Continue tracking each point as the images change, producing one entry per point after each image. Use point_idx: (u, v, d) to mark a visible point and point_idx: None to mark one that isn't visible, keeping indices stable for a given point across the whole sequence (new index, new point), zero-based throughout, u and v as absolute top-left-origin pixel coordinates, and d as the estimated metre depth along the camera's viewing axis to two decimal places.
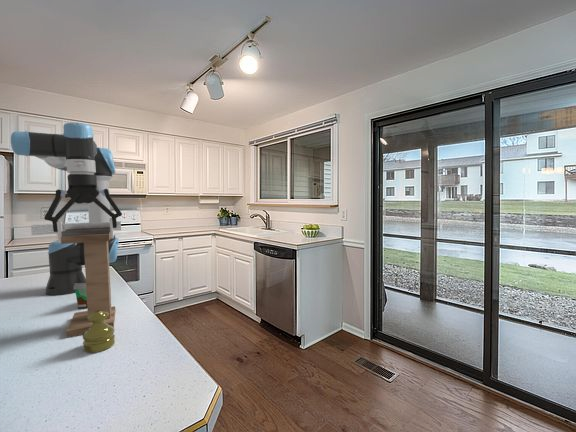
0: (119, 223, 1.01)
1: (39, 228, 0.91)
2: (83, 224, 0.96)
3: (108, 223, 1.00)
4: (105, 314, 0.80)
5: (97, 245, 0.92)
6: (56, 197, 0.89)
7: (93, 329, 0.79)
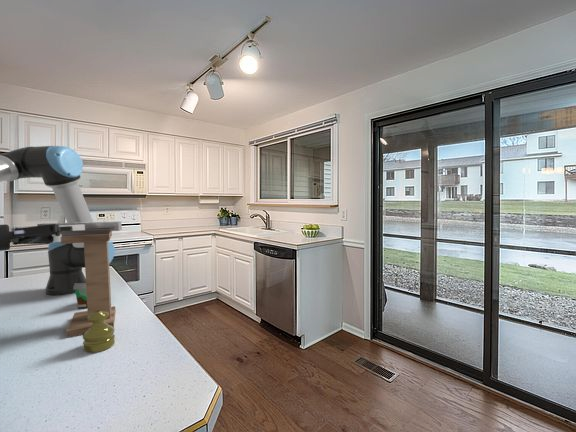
0: (117, 223, 1.00)
1: None
2: None
3: (106, 223, 0.99)
4: (105, 314, 0.80)
5: (97, 245, 0.92)
6: (23, 243, 0.92)
7: (93, 329, 0.79)
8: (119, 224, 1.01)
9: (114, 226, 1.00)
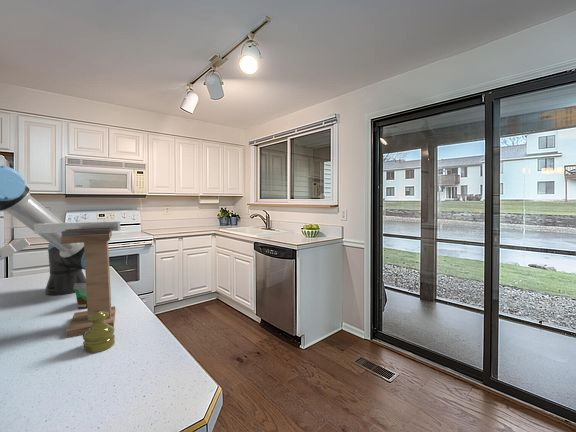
0: (116, 223, 1.00)
1: (41, 227, 0.94)
2: (81, 224, 0.97)
3: (105, 223, 0.99)
4: (105, 314, 0.80)
5: (97, 245, 0.92)
6: None
7: (93, 329, 0.79)
8: (118, 224, 1.01)
9: (113, 226, 1.00)
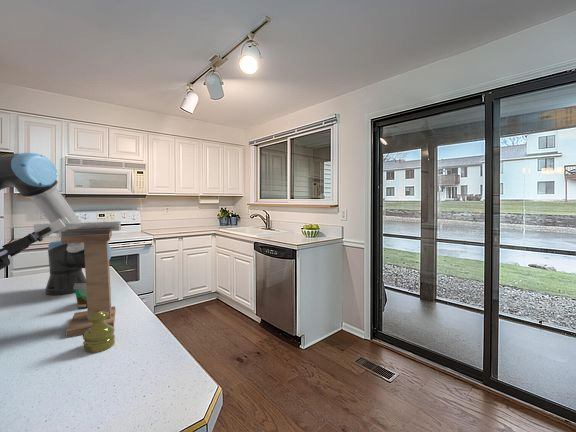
0: (117, 223, 1.00)
1: (41, 227, 0.94)
2: (82, 224, 0.97)
3: (106, 223, 0.99)
4: (105, 314, 0.80)
5: (97, 245, 0.92)
6: None
7: (93, 329, 0.79)
8: (119, 224, 1.02)
9: (114, 226, 1.00)
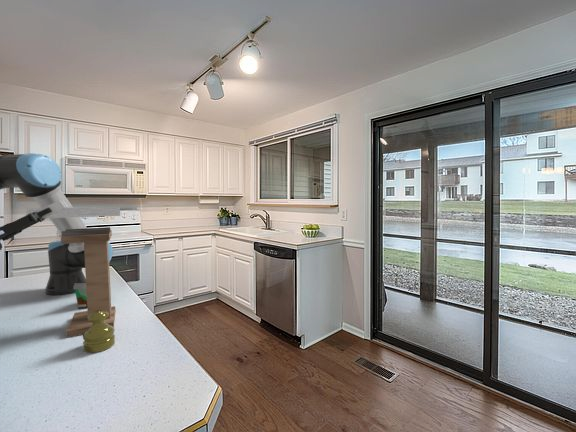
0: (118, 208, 0.97)
1: (34, 211, 0.87)
2: (80, 208, 0.92)
3: (107, 208, 0.96)
4: (105, 314, 0.80)
5: (97, 245, 0.92)
6: None
7: (93, 329, 0.79)
8: (119, 209, 0.98)
9: (115, 211, 0.97)
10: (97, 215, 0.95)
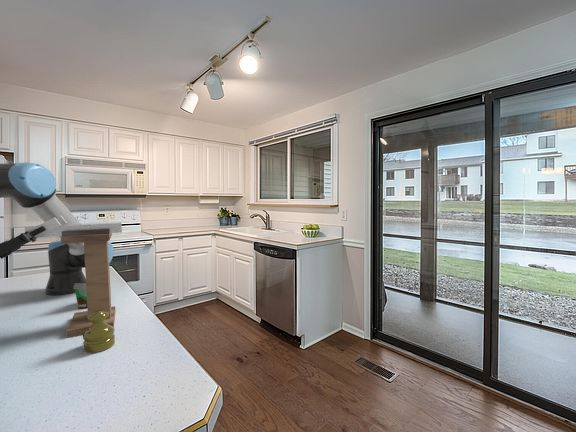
0: (120, 225, 0.95)
1: None
2: (81, 226, 0.90)
3: (108, 225, 0.93)
4: (105, 314, 0.80)
5: (97, 245, 0.92)
6: None
7: (93, 329, 0.79)
8: (121, 225, 0.96)
9: (117, 228, 0.94)
10: None
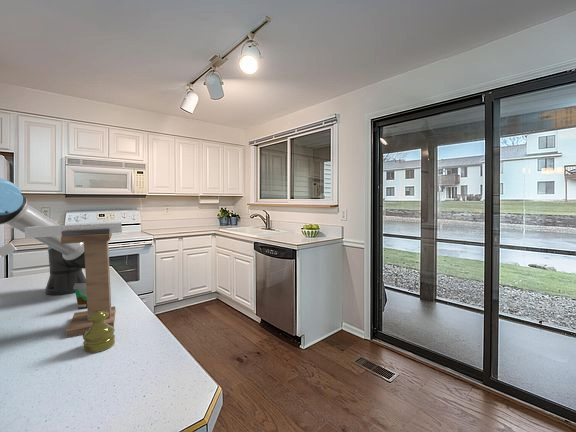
0: (120, 225, 0.95)
1: (33, 230, 0.84)
2: (81, 226, 0.90)
3: (108, 225, 0.93)
4: (105, 314, 0.80)
5: (97, 245, 0.92)
6: None
7: (93, 329, 0.79)
8: (121, 225, 0.96)
9: (117, 228, 0.94)
10: None
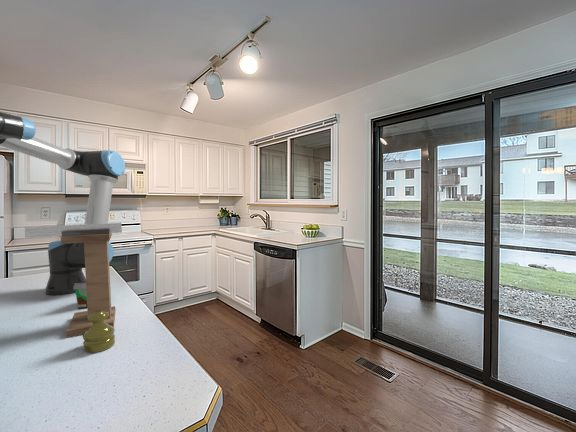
0: (120, 225, 0.95)
1: (33, 230, 0.84)
2: (81, 226, 0.90)
3: (108, 225, 0.93)
4: (105, 314, 0.80)
5: (97, 245, 0.92)
6: None
7: (93, 329, 0.79)
8: (121, 225, 0.96)
9: (117, 228, 0.94)
10: None
